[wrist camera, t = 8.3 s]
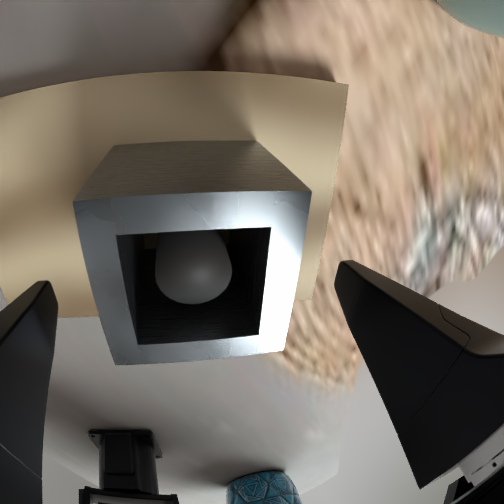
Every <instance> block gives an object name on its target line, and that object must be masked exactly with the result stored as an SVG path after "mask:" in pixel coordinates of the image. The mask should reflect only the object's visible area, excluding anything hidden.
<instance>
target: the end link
mask: <svg viewBox="0 0 504 504" xmlns="http://www.w3.org/2000/svg"><path fill="white" fill-rule="evenodd" d="M311 196H312V190H311V189H309V188H308V187H307V186H306V185H305V184H304V183H303V182H302V181H301V180H300V179H299V178H298V177H297V176H296V175H295V174H293V173H292V172H291V171H290V170H289V169H288V168H287V167H286V166H285V165H284V164H283V163H281V162H280V161H279V160H278V159H277V158H276V157H275V156H274V155H272V154H271V153H270V152H269V151H268V150H267V149H266V148H265V147H263V146H262V145H261V144H260V143H259V142H258V141H239V140H211V141H173V142H153V143H137V144H124V145H114V146H113V147H112V148H111V149H110V151H109V152H108V153H107V155H106V156H105V157H104V158H103V160H102V161H101V162H100V164H99V165H98V166H97V168H96V169H95V170H94V172H93V173H92V174H91V176H90V177H89V178H88V180H87V181H86V183H85V184H84V185H83V187H82V188H81V190H80V191H79V193H78V194H77V196H76V197H75V198H74V200H73V207H74V213H75V219H76V224H77V229H78V234H79V239H80V244H81V249H82V253H83V258H84V262H85V266H86V270H87V274H88V278H89V282H90V286H91V290H92V293H93V297H94V300H95V304H96V307H97V311H98V314H99V318H100V321H101V324H102V327H103V330H104V333H105V336H106V339H107V342H108V345H109V348H110V351H111V354H112V357H113V360H114V362H115V365H136V364H157V363H173V362H186V361H198V360H209V359H219V358H229V357H238V356H246V355H254V354H262V353H269V352H276V351H283V350H284V345H285V340H286V335H287V331H288V326H289V321H290V316H291V311H292V305H293V300H294V295H295V290H296V284H297V279H298V274H299V268H300V262H301V257H302V251H303V245H304V239H305V233H306V227H307V221H308V215H309V209H310V202H311ZM213 229H229V244H225V246H226V249H227V252H228V256H229V259H230V262H231V266H232V276H231V280H230V282H229V284H228V286H227V287H226V289H225V290H224V291H223V292H222V293H221V294H220V295H218V296H217V297H215V298H214V299H212V300H210V301H207V302H204V303H199V304H185V303H180V302H177V301H174V300H172V299H170V298H169V297H167V296H166V295H165V294H164V293H163V292H162V291H161V290H160V288H159V286H158V285H157V282H156V278H155V265H156V248H154V249H145V244H144V235H143V233H158V232H175V231H193V230H213Z"/></svg>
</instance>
